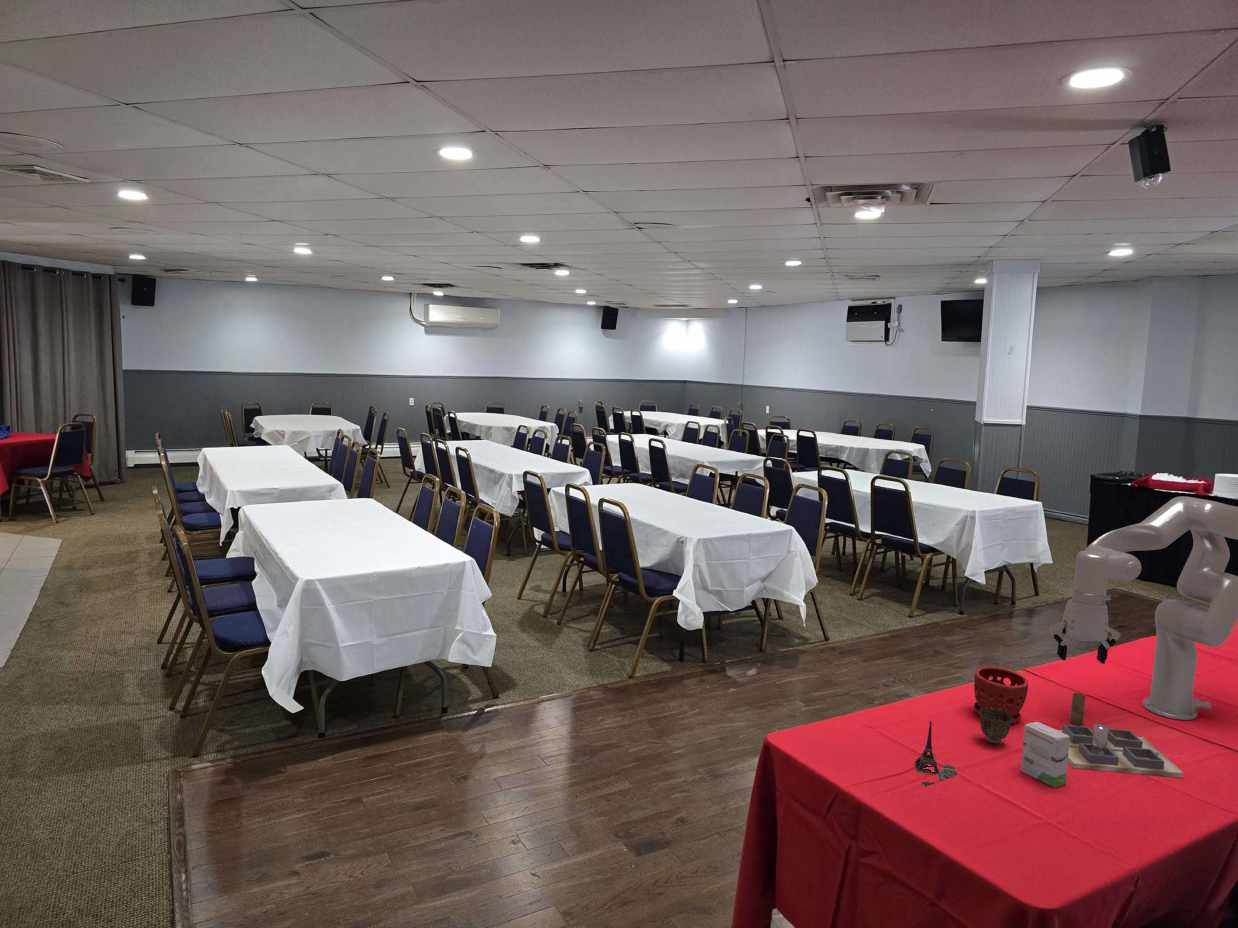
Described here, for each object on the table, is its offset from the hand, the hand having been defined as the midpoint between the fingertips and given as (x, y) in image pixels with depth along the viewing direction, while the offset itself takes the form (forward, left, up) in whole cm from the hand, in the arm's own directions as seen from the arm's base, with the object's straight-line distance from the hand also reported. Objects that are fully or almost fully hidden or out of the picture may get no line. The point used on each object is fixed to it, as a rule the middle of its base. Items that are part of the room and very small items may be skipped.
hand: (1081, 660), depth 208 cm
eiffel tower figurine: (+45, +33, -19) cm, 59 cm away
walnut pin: (0, 0, -18) cm, 18 cm away
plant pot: (+20, 0, -18) cm, 27 cm away
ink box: (+20, +32, -18) cm, 41 cm away
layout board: (-1, +17, -18) cm, 24 cm away
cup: (+26, +16, -18) cm, 35 cm away
